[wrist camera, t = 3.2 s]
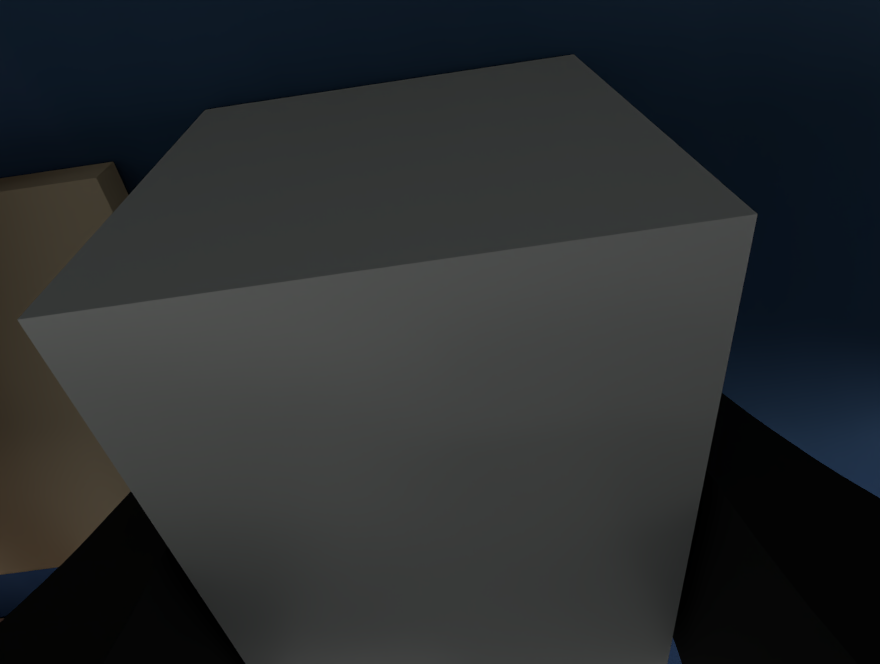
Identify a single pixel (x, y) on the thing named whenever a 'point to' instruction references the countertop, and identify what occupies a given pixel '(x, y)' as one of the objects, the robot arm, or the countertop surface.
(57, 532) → the coaster
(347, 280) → the block
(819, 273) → the countertop surface
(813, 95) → the countertop surface
